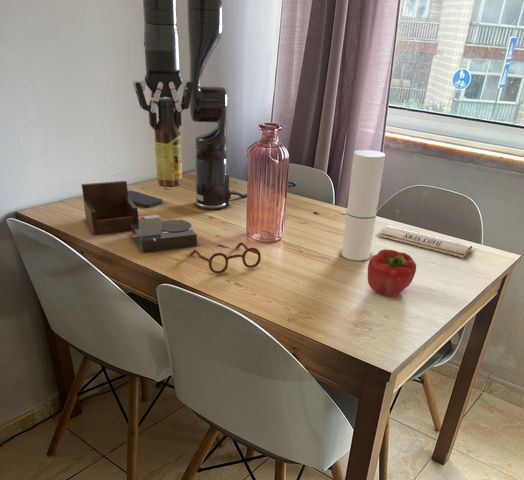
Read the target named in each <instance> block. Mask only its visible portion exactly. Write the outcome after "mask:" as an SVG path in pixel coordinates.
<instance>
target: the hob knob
mask: <svg viewBox="0 0 524 480" xmlns="http://www.w3.org/2000/svg"><path fill="white" fill-rule="evenodd" d="M138 222H139V232H140V235H141V237H145V236H153V235H161V224H160V222H161V217H160V215H159V214H153V215H138Z"/></svg>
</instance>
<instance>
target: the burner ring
mask: <svg viewBox="0 0 524 480" xmlns="http://www.w3.org/2000/svg"><path fill="white" fill-rule="evenodd" d="M160 222H161V223H160V224H161V230H163V231H167V232H182V231H186V230H189V229H190V228H191V229H192V224H191V222H189V221H187V220H183V219H167V220H163V221H160Z"/></svg>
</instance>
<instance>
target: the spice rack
mask: <svg viewBox="0 0 524 480" xmlns="http://www.w3.org/2000/svg"><path fill="white" fill-rule="evenodd" d="M81 190H82V191H81V192H82V198H83V199H82V200H83V207H84V214H85V220H86V223H87V224H88V226H89V228H90V229H91V232H92V233H93V235H101V234H110V233H118V232H120V233H121V232H129V231H130V232H131V225H135V224H139V220H138V217H139V211H138V207H137V205H136V204H134V203H133V202H132V201H131V199H130V198H129V197H128V191H129V190H128V181H127V180H118V181H103V182H93V183H81Z"/></svg>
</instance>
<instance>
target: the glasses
mask: <svg viewBox="0 0 524 480" xmlns="http://www.w3.org/2000/svg"><path fill="white" fill-rule="evenodd" d="M241 246H242V247H243V248H244V249H245V250H244V251H243V252H242V254H240V253H238V254H232V255H229V256H227V255H226V254H225V253H223V252H215V253H213V254H211V256H210V257H209V258H208V257H206V256H204V255H202V254H201V253H200V252H199V251H198V250H197V249H194V250H193V251H191V252H190V253H189V256H190V257H192V256H193V255H195V254H196V255H197V256H198V258H199V259H201V260H204V261H206V262H207V263H208V267H209V270H210V271H211V272H212V273H214V274H217V275H218V274H219V275H220V274H223V273H224V272H226V270H227V269H228V266H229V260H231V259H236V258H241V259H242V264H243V266H244V267H245V268H248V269H254V268H256V267H257V266H258V265H259V264H260V262H261V259H262V255H261V251H260V250H259V249H258V248H256V247H248V246H247V245H246V244H245V243H244V242H242V241H240V242H239V243H238V244H237V245H236V246H235V250H238V249H239V248H240V247H241ZM248 252H250V253H253V254H255V255H257V261H256V262H255V263H254V264H252V265H250V264H248V263H247V262H246V255H247V254H248ZM218 256H221V257H223V258H224V261H225V263H224V267H223V268H222V269H221V270H215V269H214V268H213V265H212V262H213V260H214V259H215V258H216V257H218Z"/></svg>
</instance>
